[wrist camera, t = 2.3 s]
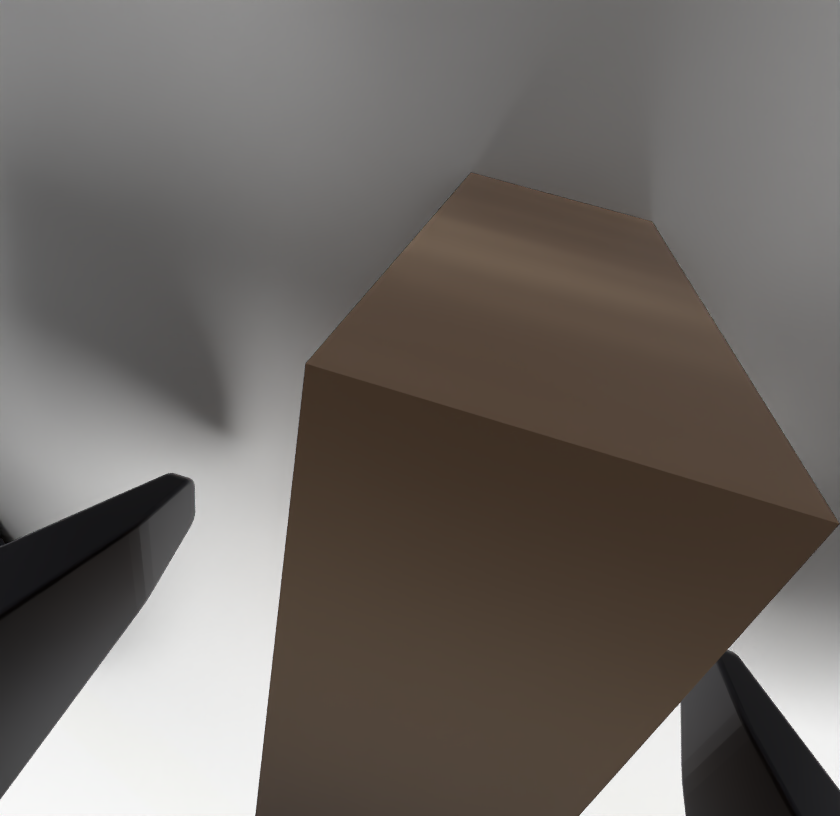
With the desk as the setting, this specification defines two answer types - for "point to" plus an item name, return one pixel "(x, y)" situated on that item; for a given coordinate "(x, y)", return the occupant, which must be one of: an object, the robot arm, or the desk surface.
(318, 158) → the desk surface
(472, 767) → the panel
